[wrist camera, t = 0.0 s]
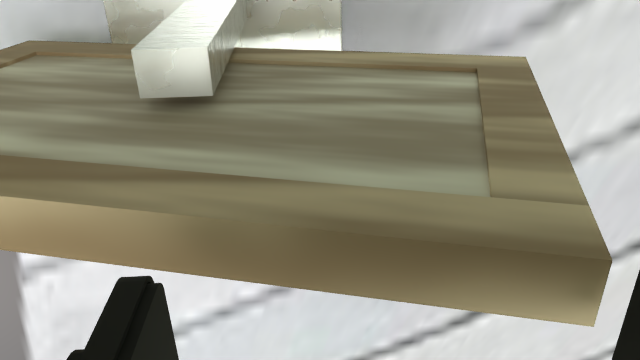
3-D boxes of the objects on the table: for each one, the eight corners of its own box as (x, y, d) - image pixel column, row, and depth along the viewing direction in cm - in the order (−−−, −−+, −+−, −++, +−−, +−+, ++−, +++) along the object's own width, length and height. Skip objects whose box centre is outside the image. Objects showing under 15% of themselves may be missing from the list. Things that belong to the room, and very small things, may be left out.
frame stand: (92, -93, 34) (-85, -88, 18) (339, -99, 35) (373, -100, 19) (127, 86, 40) (15, 208, 24) (340, 79, 40) (367, 195, 24)
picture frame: (28, 40, 34) (-333, 160, 18) (525, 56, 28) (612, 260, 12) (39, 80, 35) (-291, 224, 20) (518, 104, 29) (588, 345, 13)
